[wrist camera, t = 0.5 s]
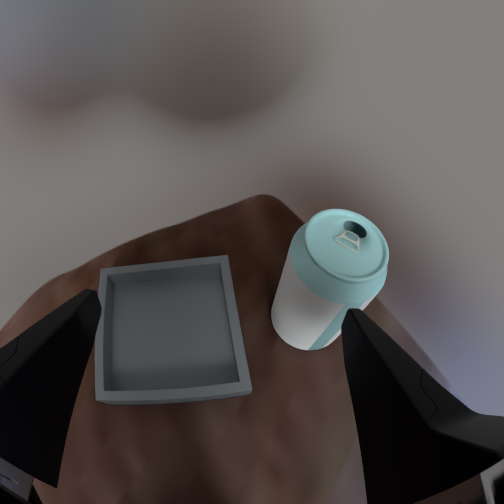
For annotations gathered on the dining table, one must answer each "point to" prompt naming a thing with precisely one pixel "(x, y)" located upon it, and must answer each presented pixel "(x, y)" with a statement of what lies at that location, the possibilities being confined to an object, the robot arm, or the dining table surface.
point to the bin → (169, 334)
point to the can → (328, 277)
